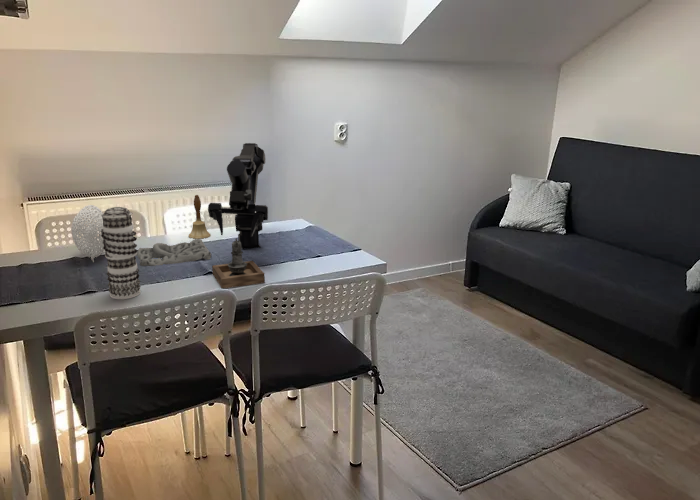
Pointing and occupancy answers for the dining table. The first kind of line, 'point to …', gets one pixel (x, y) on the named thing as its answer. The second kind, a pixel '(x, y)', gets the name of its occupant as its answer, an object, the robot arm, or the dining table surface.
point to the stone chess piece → (237, 260)
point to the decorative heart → (88, 231)
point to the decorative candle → (120, 253)
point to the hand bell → (198, 223)
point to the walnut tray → (251, 277)
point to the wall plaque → (173, 253)
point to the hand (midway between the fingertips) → (236, 235)
